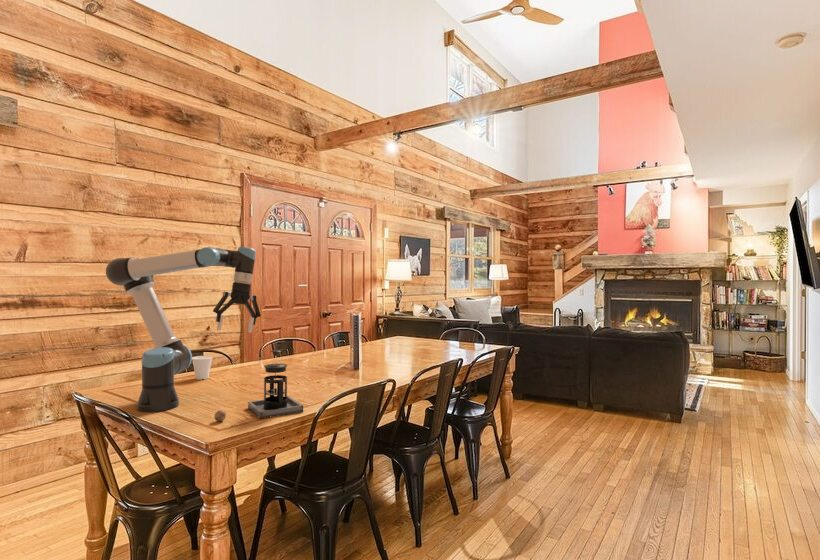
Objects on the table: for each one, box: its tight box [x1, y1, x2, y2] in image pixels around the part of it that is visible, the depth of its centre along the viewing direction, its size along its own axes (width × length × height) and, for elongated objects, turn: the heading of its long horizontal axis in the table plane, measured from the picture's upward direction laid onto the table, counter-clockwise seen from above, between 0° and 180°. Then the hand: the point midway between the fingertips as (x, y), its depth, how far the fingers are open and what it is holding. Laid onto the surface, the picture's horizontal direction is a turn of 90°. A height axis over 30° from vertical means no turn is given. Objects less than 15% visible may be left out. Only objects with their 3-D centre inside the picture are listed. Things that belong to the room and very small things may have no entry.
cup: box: [192, 355, 214, 381], centre depth 247 cm, size 10×10×11 cm
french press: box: [263, 349, 288, 410], centre depth 193 cm, size 12×9×23 cm
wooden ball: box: [214, 409, 227, 422], centre depth 178 cm, size 4×4×4 cm
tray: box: [247, 395, 304, 419], centre depth 193 cm, size 17×17×2 cm
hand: (234, 331), depth 207 cm, fingers open, 13 cm apart
